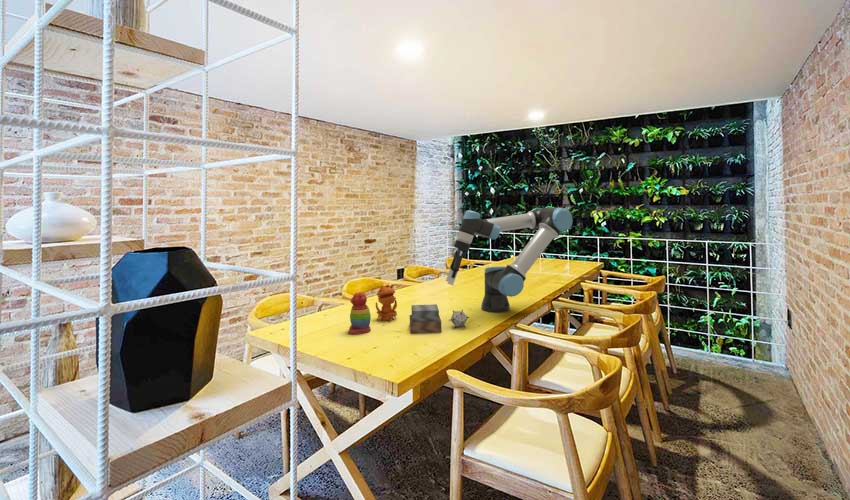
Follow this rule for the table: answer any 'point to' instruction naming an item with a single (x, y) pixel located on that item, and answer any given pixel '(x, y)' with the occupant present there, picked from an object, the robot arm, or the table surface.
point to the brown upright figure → (386, 303)
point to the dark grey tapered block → (425, 319)
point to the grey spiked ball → (459, 318)
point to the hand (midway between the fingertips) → (449, 283)
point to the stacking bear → (359, 315)
